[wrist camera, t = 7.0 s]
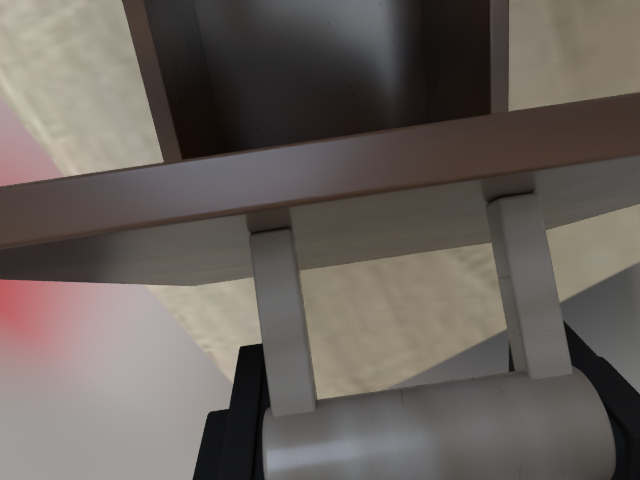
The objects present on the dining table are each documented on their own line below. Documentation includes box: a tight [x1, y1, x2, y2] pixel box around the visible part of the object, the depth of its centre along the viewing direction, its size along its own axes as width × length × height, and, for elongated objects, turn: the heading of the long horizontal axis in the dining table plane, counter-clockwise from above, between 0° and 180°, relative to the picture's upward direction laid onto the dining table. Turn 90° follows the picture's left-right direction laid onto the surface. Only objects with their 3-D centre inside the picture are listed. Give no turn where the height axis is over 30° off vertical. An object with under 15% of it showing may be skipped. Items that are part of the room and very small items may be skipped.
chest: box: [122, 0, 509, 162], centre depth 25 cm, size 16×15×12 cm
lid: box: [0, 92, 640, 480], centre depth 14 cm, size 16×15×5 cm
